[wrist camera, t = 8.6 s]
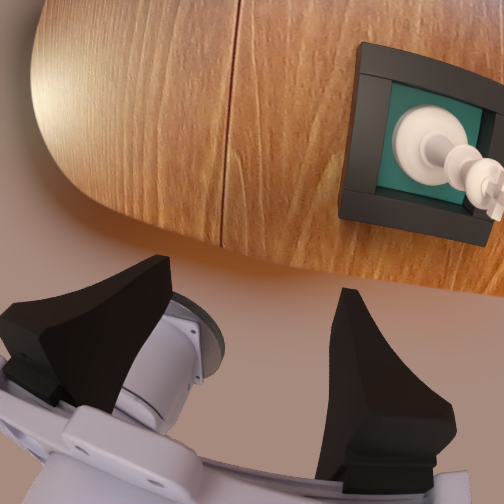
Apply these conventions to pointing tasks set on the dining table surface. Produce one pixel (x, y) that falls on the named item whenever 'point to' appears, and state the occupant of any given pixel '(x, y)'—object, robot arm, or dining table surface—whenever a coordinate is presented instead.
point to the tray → (380, 143)
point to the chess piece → (447, 157)
